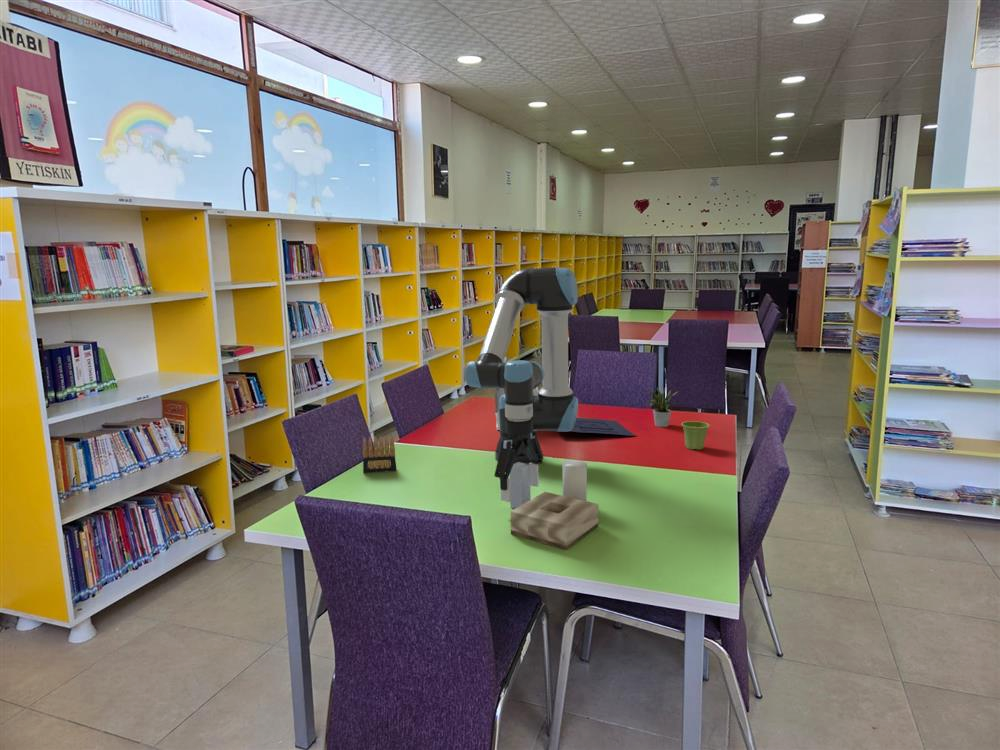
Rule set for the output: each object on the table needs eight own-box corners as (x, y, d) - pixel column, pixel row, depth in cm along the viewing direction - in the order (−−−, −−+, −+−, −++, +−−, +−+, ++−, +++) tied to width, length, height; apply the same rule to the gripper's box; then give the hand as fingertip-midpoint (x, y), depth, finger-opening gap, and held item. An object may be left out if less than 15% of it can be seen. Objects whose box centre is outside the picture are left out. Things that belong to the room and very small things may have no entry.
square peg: (510, 507, 174) (509, 465, 172) (518, 502, 177) (518, 462, 175) (522, 510, 171) (521, 468, 169) (530, 505, 175) (530, 464, 172)
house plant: (633, 425, 258) (634, 386, 255) (653, 419, 267) (654, 381, 264) (663, 431, 247) (664, 390, 244) (683, 425, 256) (684, 385, 254)
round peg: (558, 506, 174) (558, 465, 172) (570, 499, 179) (570, 458, 177) (579, 511, 170) (579, 469, 168) (590, 504, 175) (591, 462, 173)
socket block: (510, 533, 157) (510, 511, 156) (545, 512, 170) (544, 491, 168) (566, 549, 147) (566, 525, 146) (598, 526, 160) (598, 504, 159)
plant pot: (691, 442, 232) (692, 419, 230) (713, 448, 224) (714, 424, 223) (675, 447, 226) (676, 423, 225) (697, 453, 219) (698, 429, 217)
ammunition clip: (396, 469, 208) (394, 434, 206) (396, 471, 207) (394, 435, 204) (363, 471, 207) (361, 436, 205) (363, 473, 205) (361, 437, 203)
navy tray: (546, 422, 260) (547, 413, 260) (615, 426, 265) (616, 418, 264) (559, 438, 237) (561, 429, 236) (635, 442, 241) (636, 433, 241)
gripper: (503, 430, 158) (505, 510, 161) (555, 410, 177) (555, 482, 181) (479, 426, 162) (481, 504, 166) (532, 407, 182) (533, 477, 186)
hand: (520, 493), depth 173 cm, fingers open, 13 cm apart
